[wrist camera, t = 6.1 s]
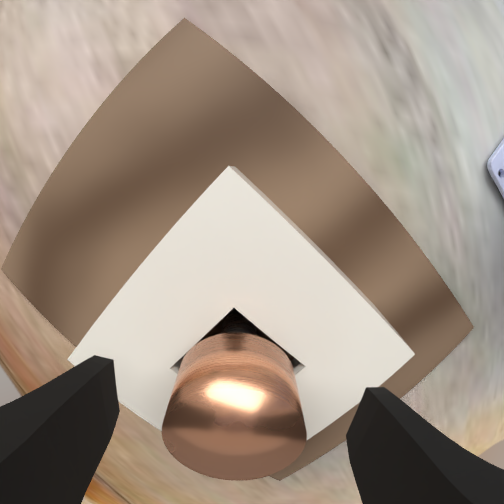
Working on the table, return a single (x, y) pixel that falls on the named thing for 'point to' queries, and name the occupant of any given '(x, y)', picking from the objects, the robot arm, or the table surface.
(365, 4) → the table surface
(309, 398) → the hollow square block
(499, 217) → the table surface
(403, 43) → the table surface
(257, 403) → the plunger
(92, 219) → the board
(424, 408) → the table surface
